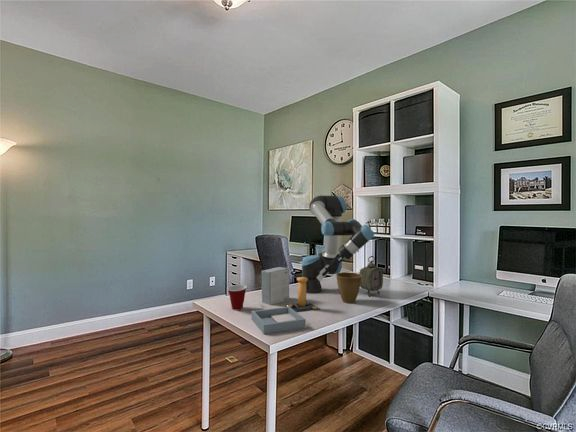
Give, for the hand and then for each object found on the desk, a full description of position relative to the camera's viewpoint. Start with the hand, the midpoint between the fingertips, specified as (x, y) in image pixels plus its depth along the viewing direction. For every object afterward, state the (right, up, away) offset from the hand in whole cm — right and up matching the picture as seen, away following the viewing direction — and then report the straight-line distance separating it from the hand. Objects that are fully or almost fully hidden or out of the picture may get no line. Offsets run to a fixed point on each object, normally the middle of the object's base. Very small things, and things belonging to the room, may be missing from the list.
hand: (319, 276), depth 162 cm
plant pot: (+19, -19, +20) cm, 33 cm away
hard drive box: (-24, -19, +15) cm, 34 cm away
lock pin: (-9, -17, +2) cm, 20 cm away
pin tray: (-22, -19, -17) cm, 33 cm away
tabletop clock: (+37, -19, +35) cm, 54 cm away
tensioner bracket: (-9, -19, +3) cm, 21 cm away
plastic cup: (-45, -19, +5) cm, 49 cm away
